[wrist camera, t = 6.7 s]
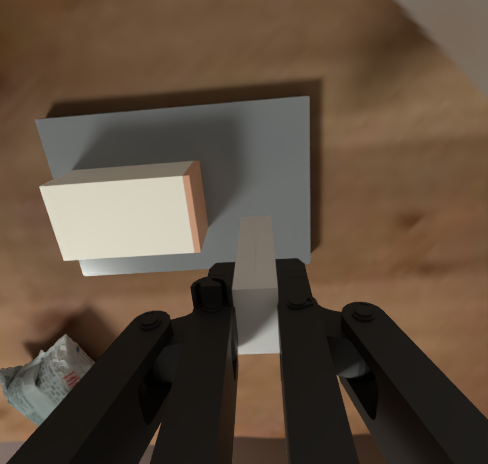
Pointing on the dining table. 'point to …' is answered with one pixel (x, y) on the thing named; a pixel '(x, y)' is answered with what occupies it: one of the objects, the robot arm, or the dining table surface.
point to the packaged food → (45, 379)
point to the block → (128, 210)
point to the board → (203, 169)
